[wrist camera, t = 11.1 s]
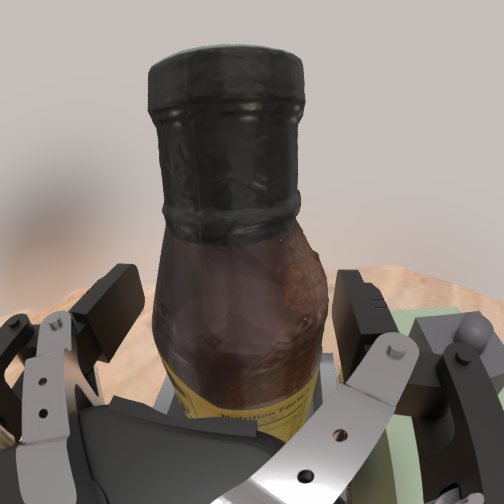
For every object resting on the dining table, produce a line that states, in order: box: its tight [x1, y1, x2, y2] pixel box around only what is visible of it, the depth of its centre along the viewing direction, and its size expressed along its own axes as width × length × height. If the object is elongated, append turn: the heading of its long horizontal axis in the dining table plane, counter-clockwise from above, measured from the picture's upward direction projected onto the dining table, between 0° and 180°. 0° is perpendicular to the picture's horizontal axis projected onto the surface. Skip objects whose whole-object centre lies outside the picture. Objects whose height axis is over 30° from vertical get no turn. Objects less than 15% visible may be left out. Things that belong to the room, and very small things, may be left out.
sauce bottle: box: [148, 44, 329, 443], centre depth 11 cm, size 6×6×20 cm
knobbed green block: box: [153, 306, 504, 504], centre depth 12 cm, size 22×14×11 cm, turn 84°
